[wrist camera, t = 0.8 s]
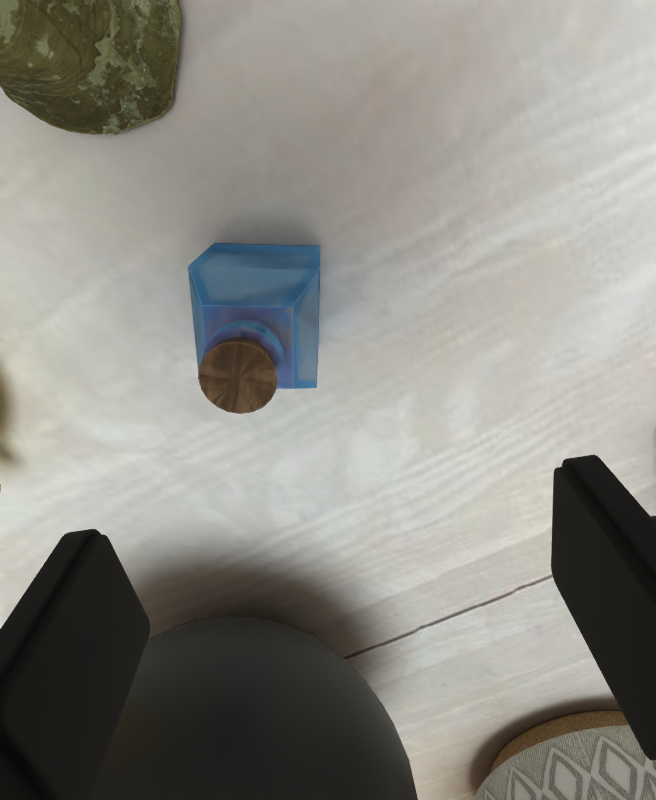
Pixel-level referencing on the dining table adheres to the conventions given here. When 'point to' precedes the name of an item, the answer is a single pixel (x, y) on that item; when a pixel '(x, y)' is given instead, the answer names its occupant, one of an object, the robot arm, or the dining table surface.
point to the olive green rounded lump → (90, 61)
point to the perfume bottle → (255, 321)
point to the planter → (573, 762)
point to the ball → (251, 721)
